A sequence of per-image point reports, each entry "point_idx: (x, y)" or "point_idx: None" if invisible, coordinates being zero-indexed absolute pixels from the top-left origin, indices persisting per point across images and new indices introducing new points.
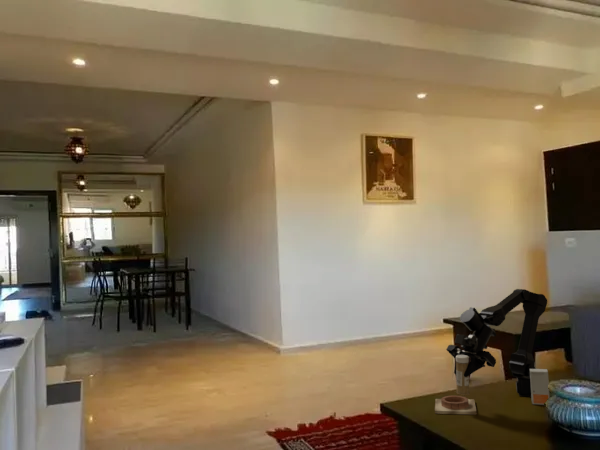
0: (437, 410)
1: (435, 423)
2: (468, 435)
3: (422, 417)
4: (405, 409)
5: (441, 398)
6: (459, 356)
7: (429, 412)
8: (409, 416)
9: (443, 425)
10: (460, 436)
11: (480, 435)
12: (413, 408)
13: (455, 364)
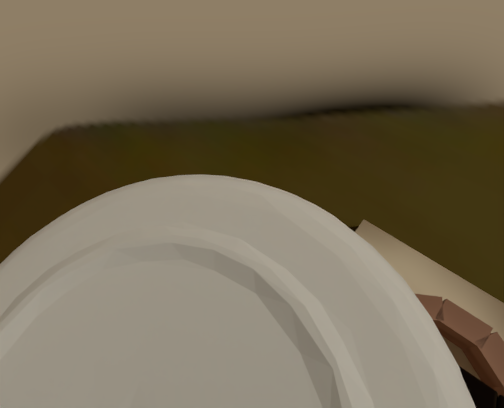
0: (360, 232)
1: (246, 159)
2: (75, 190)
3: (341, 152)
4: (492, 142)
5: (485, 324)
6: (170, 281)
7: (393, 213)
8: (381, 116)
9: (209, 172)
10: (89, 162)
11: (42, 225)
12: (494, 180)
13: (476, 386)
